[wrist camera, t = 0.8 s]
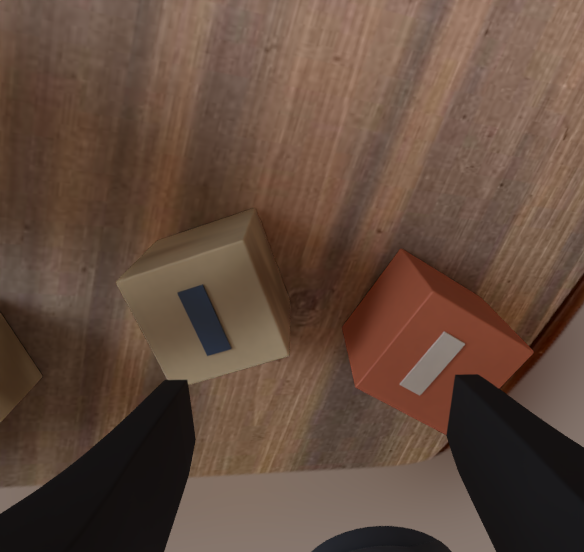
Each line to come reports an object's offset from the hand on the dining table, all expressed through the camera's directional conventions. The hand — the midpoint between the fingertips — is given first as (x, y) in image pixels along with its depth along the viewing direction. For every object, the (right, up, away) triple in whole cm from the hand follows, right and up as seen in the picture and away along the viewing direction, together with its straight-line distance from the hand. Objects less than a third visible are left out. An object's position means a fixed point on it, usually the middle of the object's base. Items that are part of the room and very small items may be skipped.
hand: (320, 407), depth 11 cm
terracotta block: (+5, +2, +10) cm, 11 cm away
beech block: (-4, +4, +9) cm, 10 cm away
